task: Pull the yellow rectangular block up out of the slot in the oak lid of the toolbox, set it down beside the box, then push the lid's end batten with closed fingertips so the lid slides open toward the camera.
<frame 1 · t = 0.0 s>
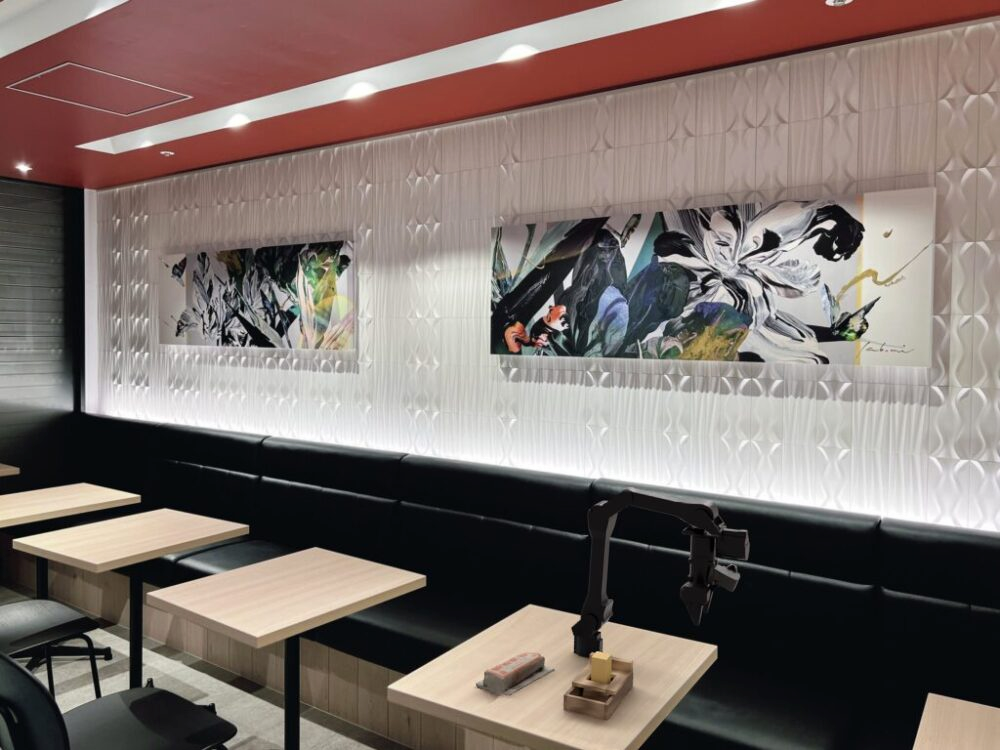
hand: (700, 618, 187), 15 cm above the table, fingers open, 9 cm apart
packaged product: (516, 682, 187), on the table
lid: (603, 672, 178), point 6 cm above the table, slide at 0.0 cm
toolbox: (599, 700, 176), on the table
yellow rectangular block: (600, 695, 177), point 1 cm above the table, touching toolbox
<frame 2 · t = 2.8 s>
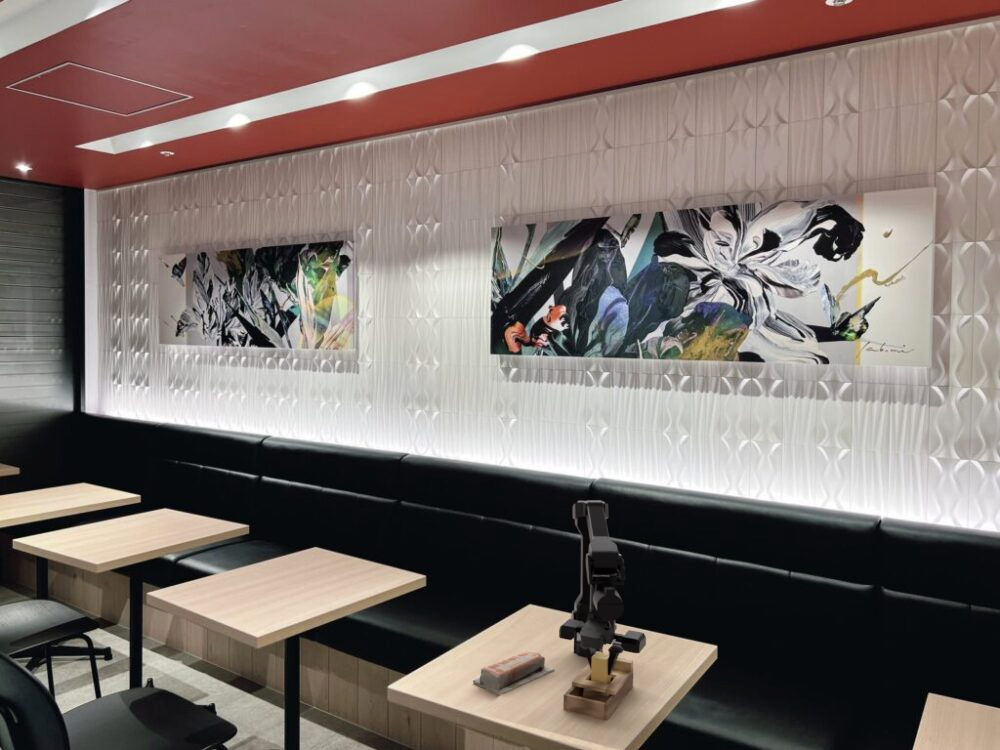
hand: (601, 672, 177), 6 cm above the table, fingers closed on yellow rectangular block, 3 cm apart
yellow rectangular block: (600, 695, 177), point 1 cm above the table, touching gripper, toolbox
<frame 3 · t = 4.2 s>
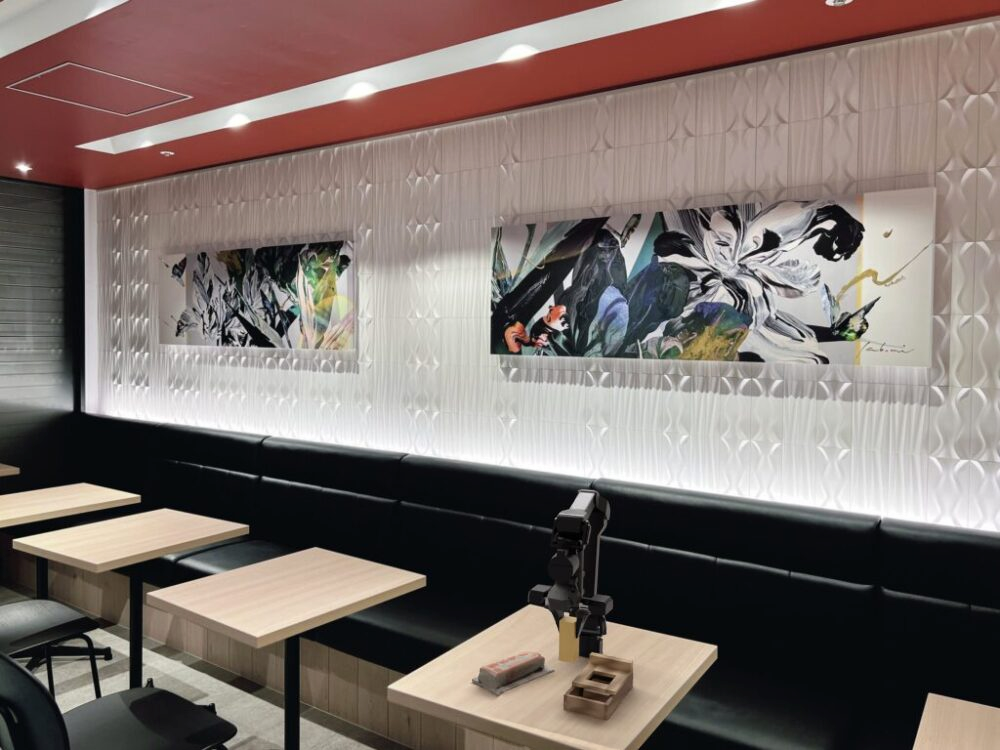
hand: (569, 636, 180), 13 cm above the table, fingers closed on yellow rectangular block, 3 cm apart
yellow rectangular block: (568, 658, 180), point 8 cm above the table, touching gripper
when the fingers open (6 cm above the table, at t = 6.1 s): yellow rectangular block drops 1 cm, on the table.
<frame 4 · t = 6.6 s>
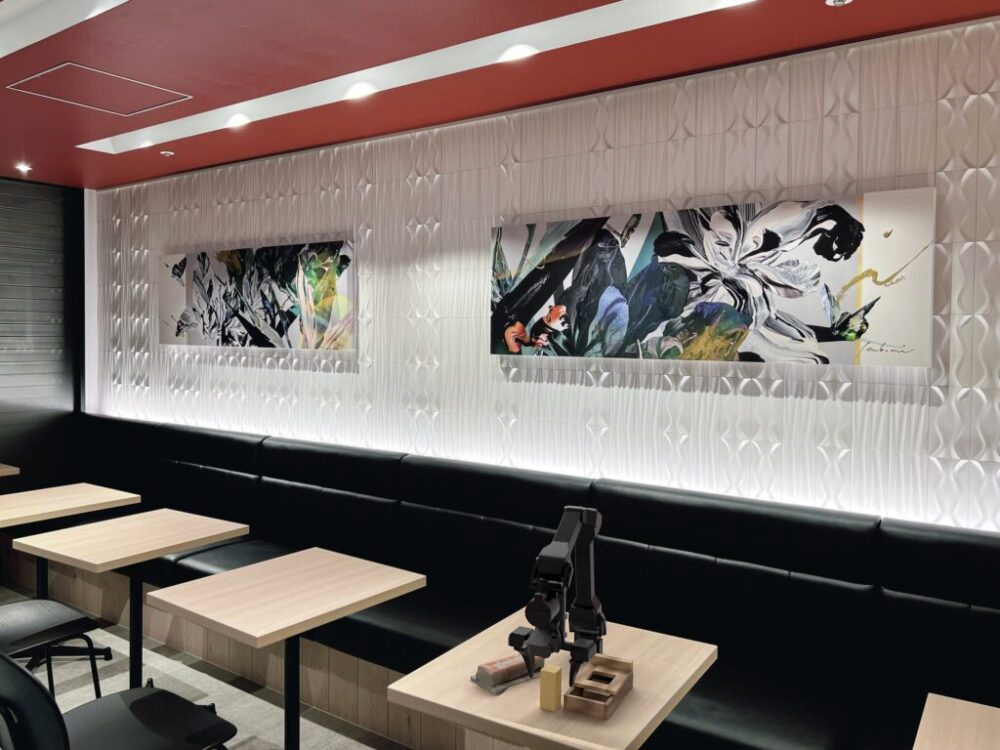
hand: (551, 681, 171), 6 cm above the table, fingers open, 9 cm apart
yellow rectangular block: (550, 709, 172), on the table
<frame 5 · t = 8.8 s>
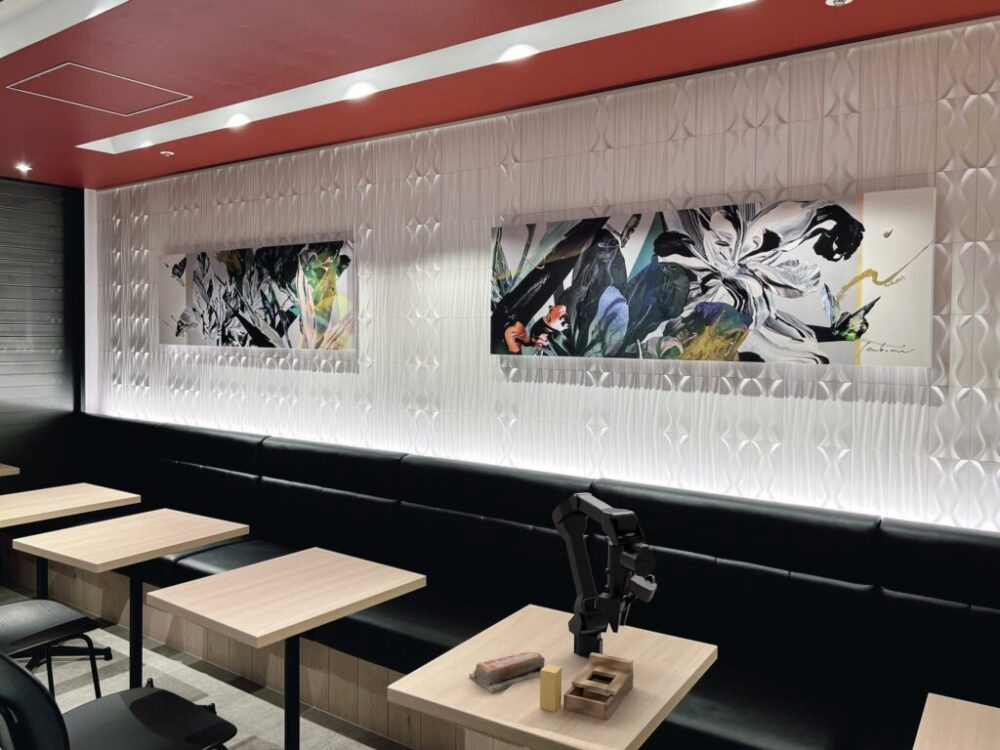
hand: (618, 629, 187), 12 cm above the table, fingers open, 5 cm apart
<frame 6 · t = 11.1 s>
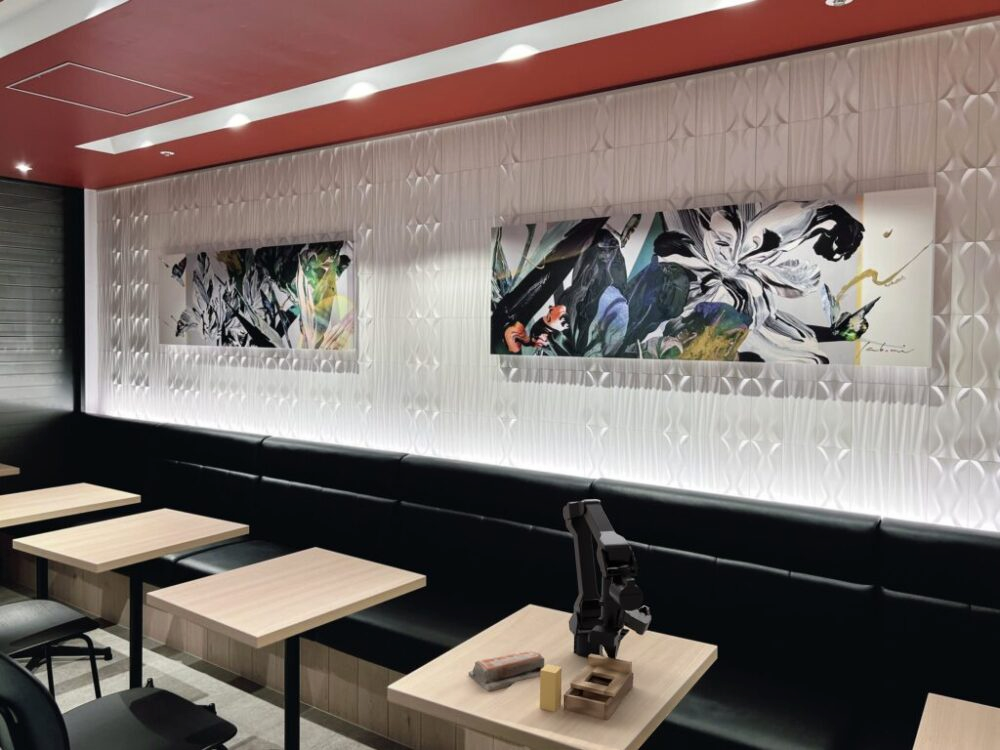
hand: (612, 661, 184), 6 cm above the table, fingers closed
lid: (601, 674, 177), point 6 cm above the table, slide at 0.9 cm, touching gripper
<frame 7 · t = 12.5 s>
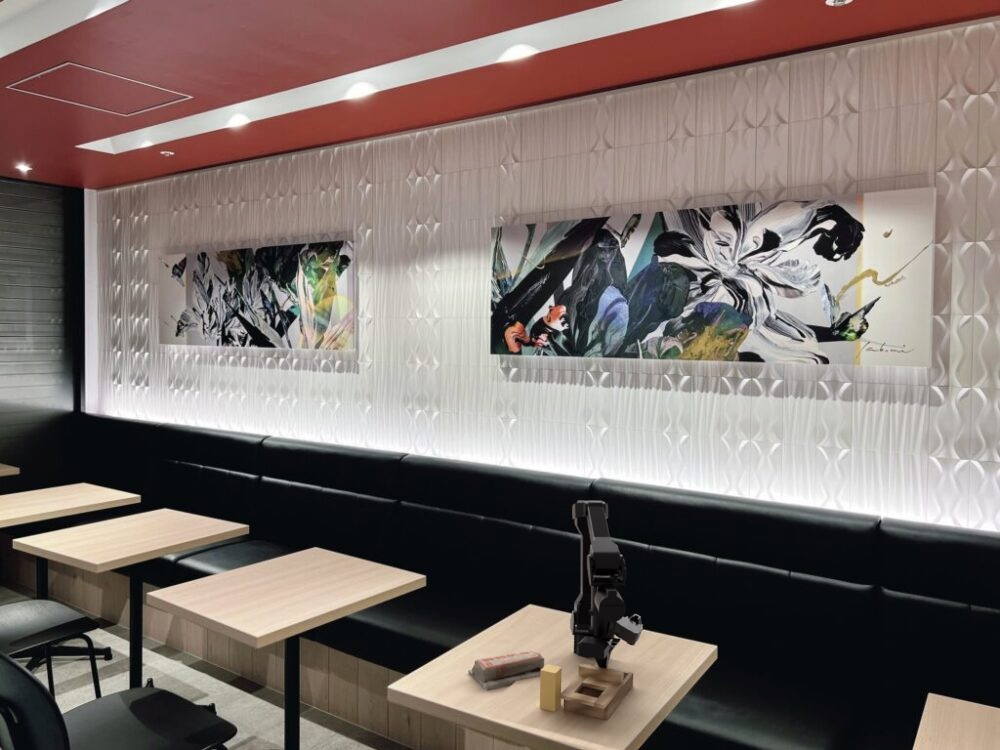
hand: (603, 672, 178), 6 cm above the table, fingers closed
lid: (592, 684, 172), point 6 cm above the table, slide at 7.1 cm, touching gripper
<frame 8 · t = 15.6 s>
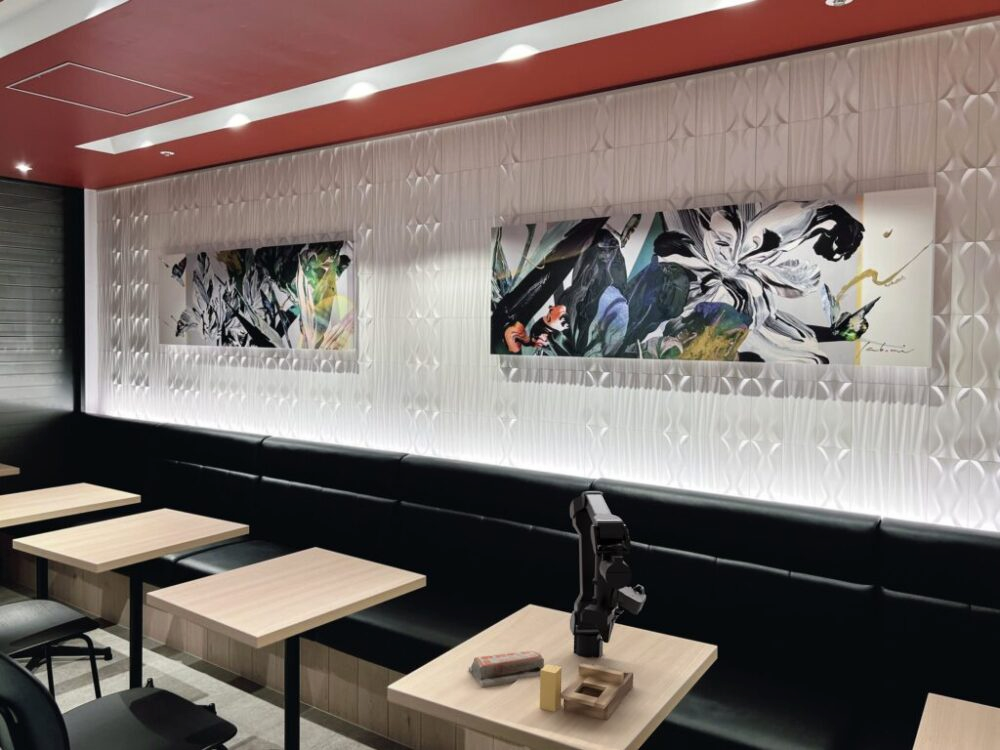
hand: (606, 642, 179), 12 cm above the table, fingers closed
lid: (592, 684, 172), point 6 cm above the table, slide at 7.0 cm
at the end: lid slide at 7.0 cm; yellow rectangular block moved 12.9 cm from its start; yellow rectangular block on the table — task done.
